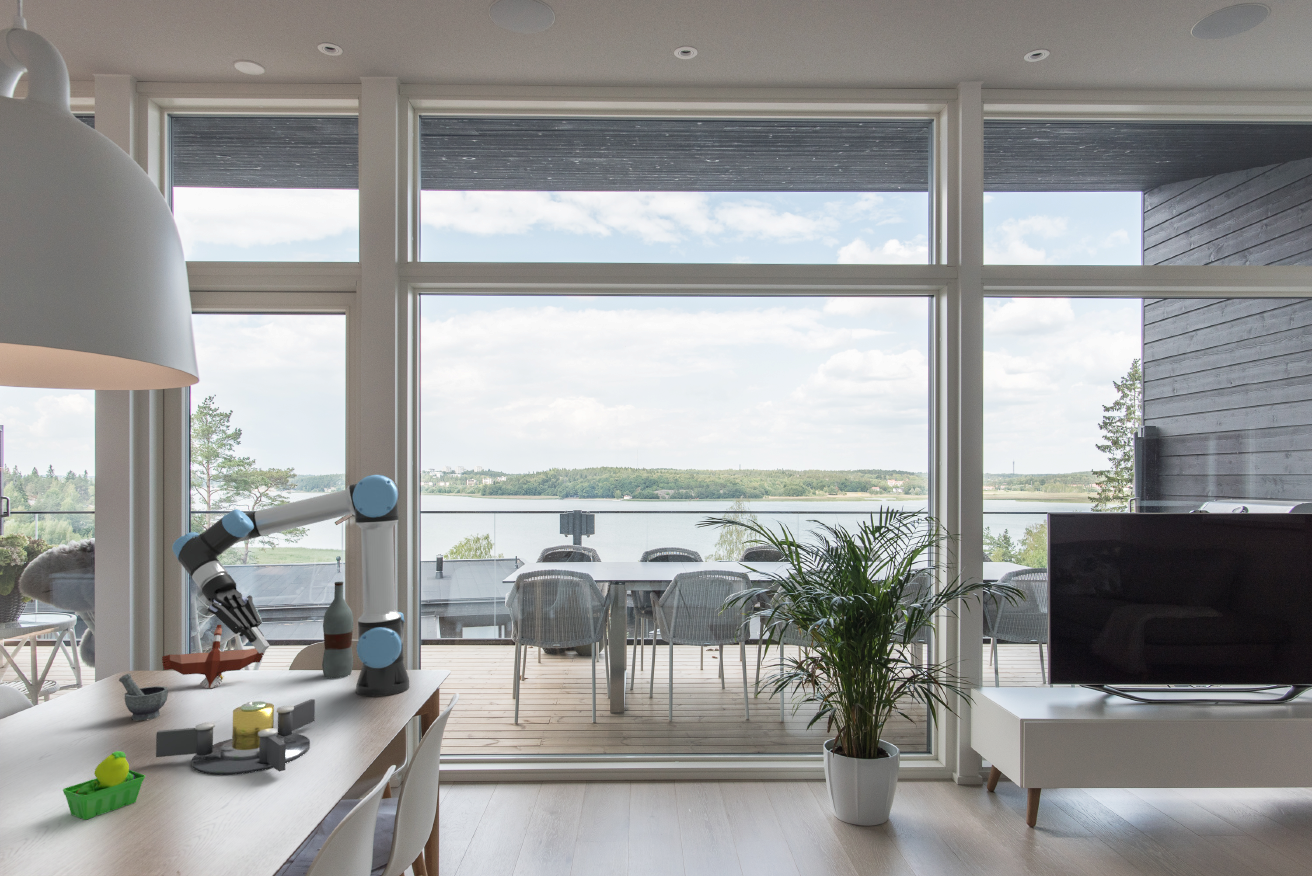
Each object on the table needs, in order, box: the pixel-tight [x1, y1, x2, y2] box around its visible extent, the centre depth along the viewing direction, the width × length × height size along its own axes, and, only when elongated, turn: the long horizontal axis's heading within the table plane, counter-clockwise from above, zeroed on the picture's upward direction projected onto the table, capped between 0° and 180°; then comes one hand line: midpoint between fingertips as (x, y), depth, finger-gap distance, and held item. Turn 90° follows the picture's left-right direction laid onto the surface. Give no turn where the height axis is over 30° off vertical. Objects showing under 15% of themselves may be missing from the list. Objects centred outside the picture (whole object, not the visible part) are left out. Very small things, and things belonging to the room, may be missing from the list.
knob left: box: [258, 728, 286, 772], centre depth 164 cm, size 12×4×6 cm, turn 45°
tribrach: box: [191, 700, 311, 776], centre depth 174 cm, size 24×24×12 cm
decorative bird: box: [161, 624, 266, 690], centre depth 235 cm, size 28×18×15 cm, turn 110°
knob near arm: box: [276, 698, 316, 736], centre depth 187 cm, size 12×4×6 cm, turn 165°
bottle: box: [321, 581, 355, 679], centre depth 244 cm, size 9×9×30 cm
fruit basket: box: [62, 750, 146, 821], centre depth 145 cm, size 11×9×11 cm
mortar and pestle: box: [118, 673, 169, 722], centre depth 201 cm, size 11×9×12 cm
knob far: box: [155, 721, 216, 758], centre depth 170 cm, size 12×4×6 cm, turn 105°
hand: (264, 649), depth 194 cm, fingers closed
